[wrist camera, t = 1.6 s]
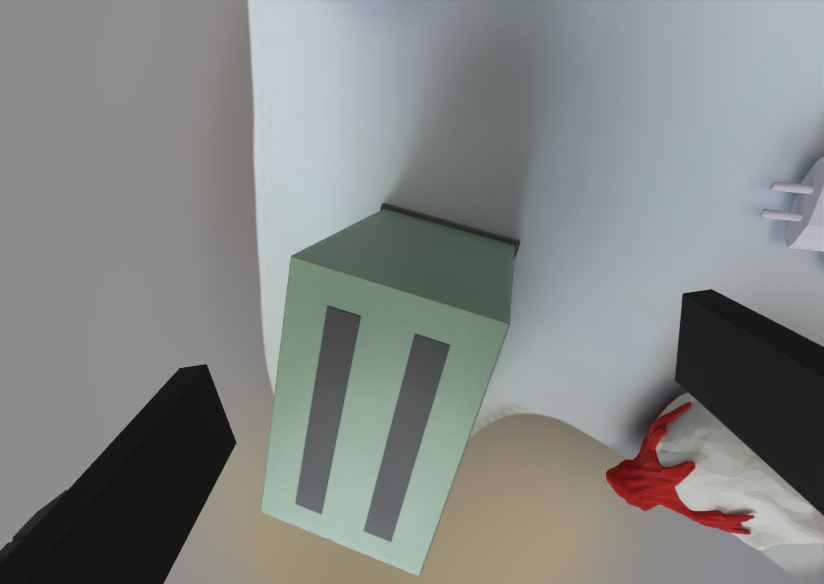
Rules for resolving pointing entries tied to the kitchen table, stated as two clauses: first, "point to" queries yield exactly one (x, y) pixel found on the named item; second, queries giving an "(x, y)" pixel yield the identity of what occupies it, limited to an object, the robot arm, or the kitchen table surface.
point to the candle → (714, 480)
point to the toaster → (384, 378)
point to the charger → (804, 210)
